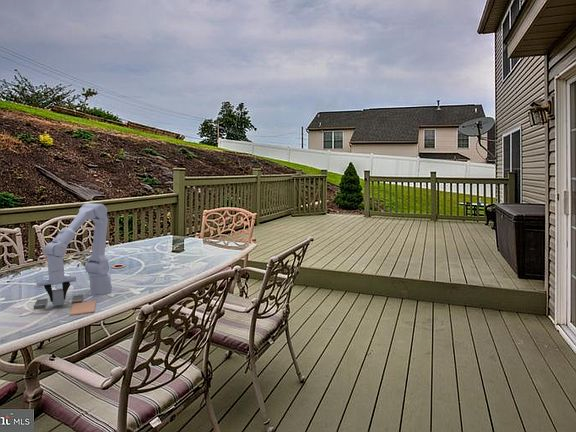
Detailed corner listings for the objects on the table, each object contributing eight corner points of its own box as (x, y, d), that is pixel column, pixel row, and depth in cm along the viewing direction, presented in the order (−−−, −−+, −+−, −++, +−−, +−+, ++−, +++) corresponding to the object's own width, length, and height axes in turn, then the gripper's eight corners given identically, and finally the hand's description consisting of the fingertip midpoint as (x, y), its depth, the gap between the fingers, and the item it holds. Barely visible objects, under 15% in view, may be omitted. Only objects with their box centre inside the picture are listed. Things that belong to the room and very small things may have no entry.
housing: (83, 297, 167) (83, 294, 167) (82, 303, 160) (81, 299, 160) (37, 302, 159) (37, 299, 159) (33, 309, 152) (33, 305, 152)
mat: (95, 302, 162) (95, 300, 162) (94, 312, 150) (94, 311, 150) (72, 304, 158) (72, 303, 158) (69, 315, 147) (69, 314, 146)
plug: (61, 298, 162) (60, 285, 161) (64, 304, 156) (63, 291, 155) (50, 300, 160) (50, 287, 159) (53, 306, 153) (52, 292, 152)
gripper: (73, 265, 162) (75, 294, 163) (34, 270, 152) (36, 300, 154) (76, 268, 156) (78, 298, 158) (36, 274, 147) (38, 305, 149)
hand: (57, 300), depth 156 cm, fingers closed on plug, 4 cm apart
